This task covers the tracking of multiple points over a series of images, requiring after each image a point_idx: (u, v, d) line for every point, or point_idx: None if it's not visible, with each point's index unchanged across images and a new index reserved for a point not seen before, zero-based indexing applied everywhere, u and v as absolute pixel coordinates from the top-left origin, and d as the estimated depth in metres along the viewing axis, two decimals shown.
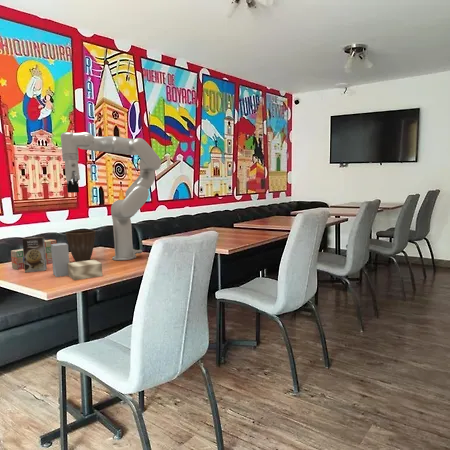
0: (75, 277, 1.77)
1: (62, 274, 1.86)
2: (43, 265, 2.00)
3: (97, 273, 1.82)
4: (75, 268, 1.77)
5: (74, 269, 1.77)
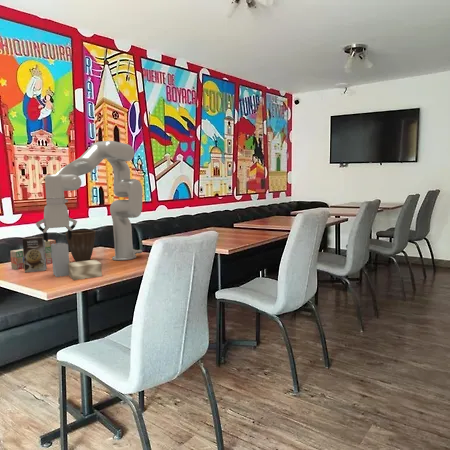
0: (74, 277, 1.77)
1: (62, 274, 1.86)
2: (43, 265, 2.00)
3: (96, 274, 1.81)
4: (74, 268, 1.77)
5: (73, 269, 1.77)
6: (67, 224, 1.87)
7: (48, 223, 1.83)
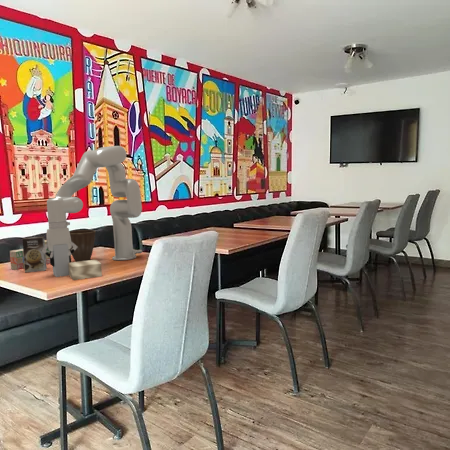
0: (74, 277, 1.77)
1: (62, 274, 1.86)
2: (43, 265, 2.00)
3: (96, 274, 1.81)
4: (74, 268, 1.77)
5: (73, 269, 1.77)
6: (69, 247, 1.88)
7: (51, 247, 1.84)
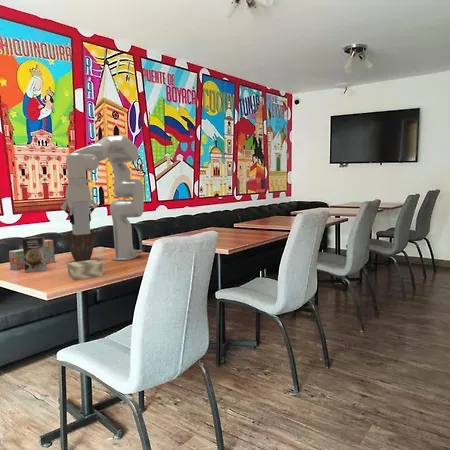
0: (75, 277, 1.77)
1: (82, 232, 1.80)
2: (43, 265, 2.00)
3: (97, 273, 1.82)
4: (75, 268, 1.77)
5: (74, 269, 1.76)
6: (89, 205, 1.82)
7: (70, 203, 1.78)
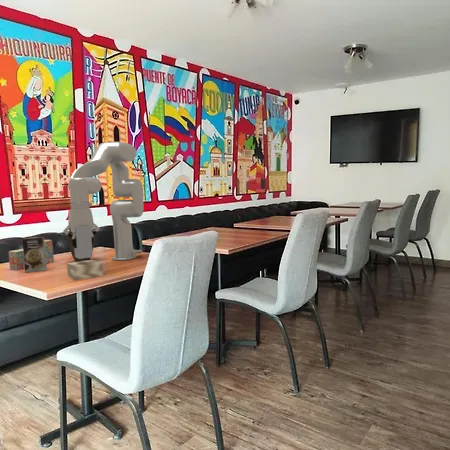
0: (76, 277, 1.77)
1: (84, 256, 1.81)
2: (43, 265, 2.00)
3: (98, 273, 1.82)
4: (76, 268, 1.77)
5: (75, 269, 1.76)
6: (92, 228, 1.83)
7: (73, 227, 1.79)
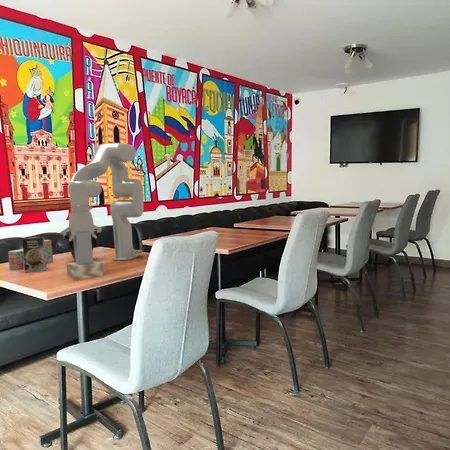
0: (76, 277, 1.77)
1: (85, 262, 1.81)
2: (43, 265, 2.00)
3: (98, 273, 1.82)
4: (76, 268, 1.77)
5: (75, 269, 1.76)
6: (92, 232, 1.83)
7: (73, 231, 1.79)
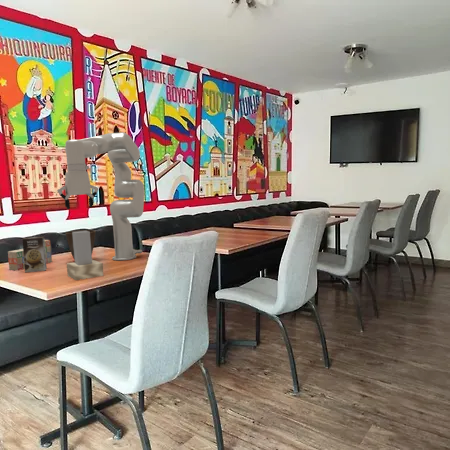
0: (77, 277, 1.77)
1: (84, 262, 1.81)
2: (43, 265, 2.00)
3: (98, 273, 1.82)
4: (77, 268, 1.77)
5: (76, 269, 1.76)
6: (89, 191, 1.83)
7: (70, 190, 1.78)
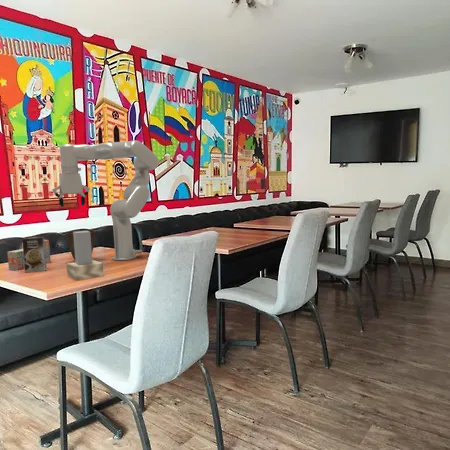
0: (77, 277, 1.77)
1: (84, 262, 1.81)
2: (43, 265, 2.00)
3: (98, 273, 1.82)
4: (77, 268, 1.76)
5: (76, 269, 1.76)
6: (81, 191, 2.03)
7: (63, 189, 1.99)
